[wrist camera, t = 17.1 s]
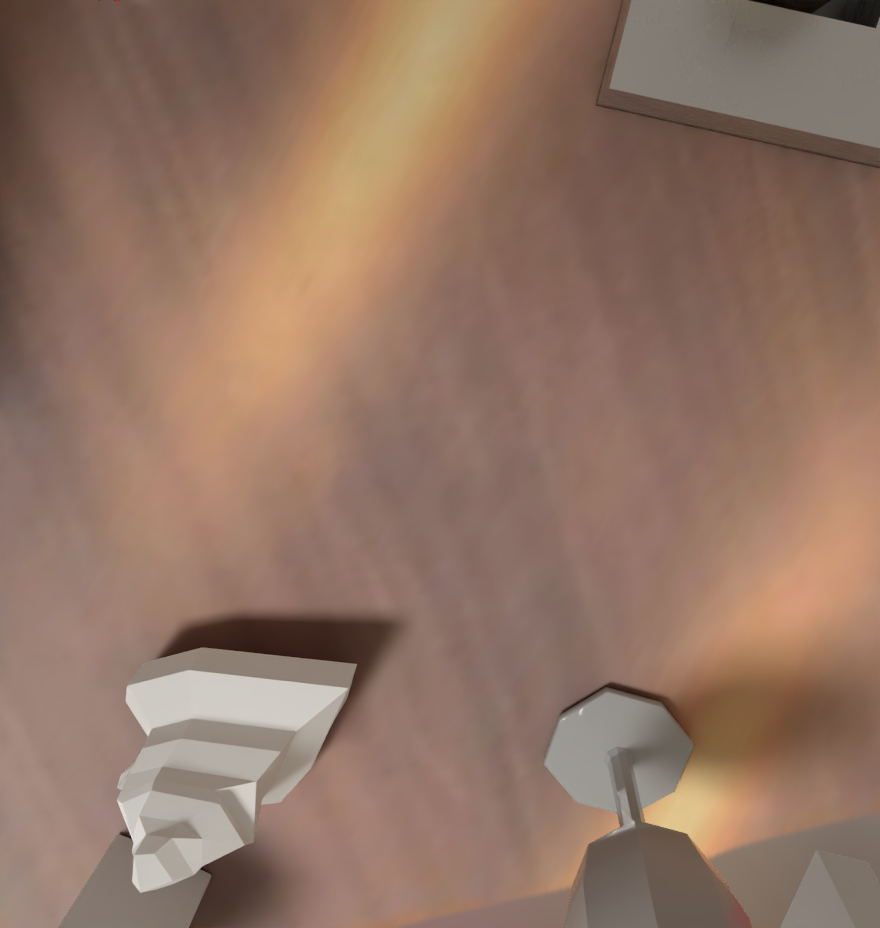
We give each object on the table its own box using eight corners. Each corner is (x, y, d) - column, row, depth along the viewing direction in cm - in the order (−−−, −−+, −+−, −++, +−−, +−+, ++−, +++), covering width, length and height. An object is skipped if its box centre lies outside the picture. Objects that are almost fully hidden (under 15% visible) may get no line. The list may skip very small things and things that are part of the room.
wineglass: (717, 734, 47) (874, 1112, 27) (630, 827, 50) (714, 1234, 30) (601, 660, 46) (674, 995, 26) (518, 759, 49) (527, 1131, 29)
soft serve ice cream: (374, 767, 52) (306, 1000, 40) (165, 731, 54) (42, 943, 42) (368, 632, 45) (284, 864, 33) (130, 597, 47) (-28, 804, 35)
